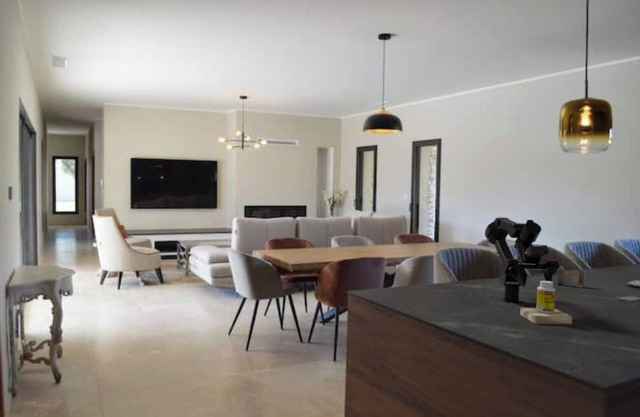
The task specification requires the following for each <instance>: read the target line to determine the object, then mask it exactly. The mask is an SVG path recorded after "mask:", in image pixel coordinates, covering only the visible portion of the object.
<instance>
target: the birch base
mask: <svg viewBox="0 0 640 417" xmlns="http://www.w3.org/2000/svg"><path fill="white" fill-rule="evenodd" d="M519 309H520V312H519V313H520V314H519V315H520V316H522V317H523V318H525V319H527V320H529V321H530V322H532V323H533V324H536V325H539V324H543V325H544V324H545V325H573V316H571V315H569V314H568V313H565V312H563V311H561V310H559V309H557V308H555V307H554V312H553V313H541V312H538V311H537V310H536V307H520V308H519Z"/></svg>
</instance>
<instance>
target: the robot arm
mask: <svg viewBox="0 0 640 417" xmlns="http://www.w3.org/2000/svg"><path fill="white" fill-rule="evenodd" d="M541 231H542V227H541V225H540V224H538V223H537V222H535V221H534V220H533V219H527V220H526V222H525V223H520V222H519V223H518V222H516V221H514V220H511V219H509V218H507V217H500V216H498V217H495V218H494V221H492V222H490V223H489V224H488V225H487V226H486V228H485V231H484V237H485V238H486V240H487V241H488V242H489V244H492V245H493V246H494V247H495V250H496V252H497V254H498V257H499V258H500V261H501V263H502V265H503V268H502V272H501V275H500V276H499V278H498V280H499V285H502V286H504V288H503V296H502V297H500V299H501V300H502V301H504V302H506V303H523V300H521V299H520V296H521V295H520V292H521V291H520V290H521V289H520V288H521V287H523V288H525V287H526V285H527V284H526V283H527V279H528V272H527V270H531V271H532V270H535V271H536V270H537V271H542V273H543V277H544V281H551V282H553V276H555V275H556V273H558V269H559V267H560V266H561V264H560V261H559V260H557V259H556V260H555V259H547V260H546V261H545V262H544V263H540V262H541V260H542V257H544V256H546V255H547V256H548V254H549V252H550V251H549V247H548V245H546V244H545V245H544V244H543V245H538V246H537V245H534V244H533V243H535V242H536V241H537V239H538V238H539V235H540V233H541ZM508 236H509V237H510V238H511V239H515V241H514V245H513V247H514V248H513V249H516V251H517V254H518V257H517V258H515V257H514V255H513V253H512V251H511V249H510V246H509V244H508V242H507V237H508Z"/></svg>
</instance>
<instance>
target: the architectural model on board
mask: <svg viewBox="0 0 640 417" xmlns="http://www.w3.org/2000/svg"><path fill="white" fill-rule="evenodd" d="M585 274H586V271H585V270H573V269H564V265H563V266H562V265H560V267H559V269H558V270H557V277H556V280H557V281H556V285H557V284H558V285H559V284H562V285H567V286H566V287H572V286H576V287H575V288H582V287H584V288H585V277H586V276H585ZM562 285H561V286H562Z"/></svg>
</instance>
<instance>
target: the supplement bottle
mask: <svg viewBox="0 0 640 417" xmlns="http://www.w3.org/2000/svg"><path fill="white" fill-rule="evenodd" d="M536 291H537V292H536V307H535V308H536V310H537V311H538V312H541V313H553V312H554V308H555V306H556V305H555V301H556V288H555V287H554V282H553V281H552V282H551V281H546V280H540V281H539V286H537V289H536Z"/></svg>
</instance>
